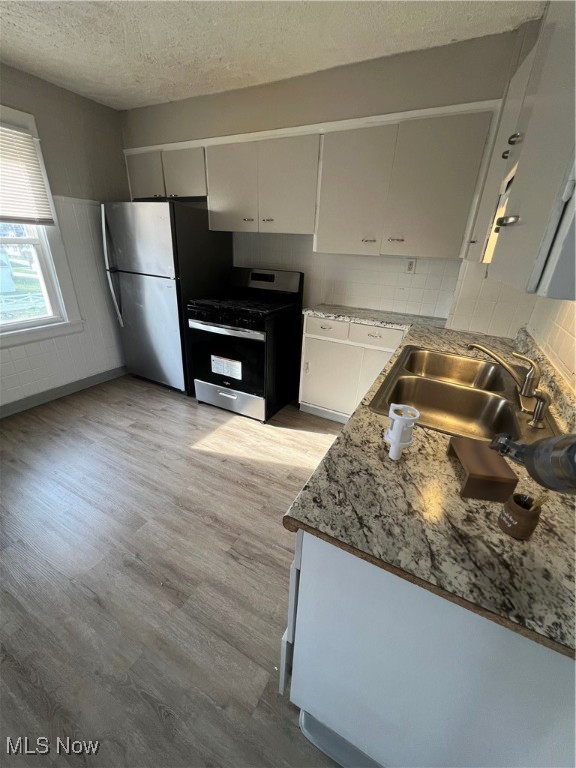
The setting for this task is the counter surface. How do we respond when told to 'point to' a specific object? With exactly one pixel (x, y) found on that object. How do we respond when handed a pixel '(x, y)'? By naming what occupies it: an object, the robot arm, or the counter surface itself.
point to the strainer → (400, 430)
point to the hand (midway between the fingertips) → (528, 463)
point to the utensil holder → (521, 514)
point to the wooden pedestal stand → (483, 470)
